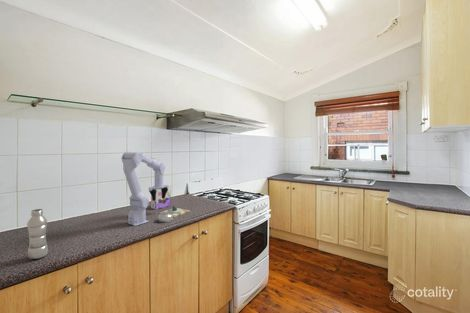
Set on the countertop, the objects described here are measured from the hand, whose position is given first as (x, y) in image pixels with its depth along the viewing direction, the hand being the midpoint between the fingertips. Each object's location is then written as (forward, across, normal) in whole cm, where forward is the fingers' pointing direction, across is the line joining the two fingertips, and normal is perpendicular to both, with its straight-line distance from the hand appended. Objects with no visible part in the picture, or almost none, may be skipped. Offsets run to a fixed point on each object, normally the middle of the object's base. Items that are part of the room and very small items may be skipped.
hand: (158, 199), depth 156 cm
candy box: (+10, +12, +14) cm, 21 cm away
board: (+10, +8, -7) cm, 15 cm away
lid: (+9, +8, -7) cm, 14 cm away
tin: (+10, -6, -15) cm, 19 cm away
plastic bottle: (+11, -68, -11) cm, 69 cm away
